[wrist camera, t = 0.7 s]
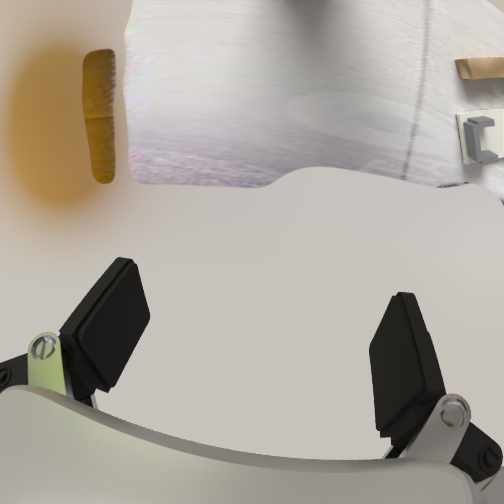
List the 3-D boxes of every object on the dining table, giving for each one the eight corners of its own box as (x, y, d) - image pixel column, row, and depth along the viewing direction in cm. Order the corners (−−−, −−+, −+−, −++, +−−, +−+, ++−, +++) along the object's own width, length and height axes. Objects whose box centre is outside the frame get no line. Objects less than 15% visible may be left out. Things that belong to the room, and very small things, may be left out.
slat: (454, 59, 26) (467, 59, 23) (519, 57, 20) (533, 58, 17) (460, 78, 27) (473, 79, 24) (524, 74, 22) (537, 76, 19)
